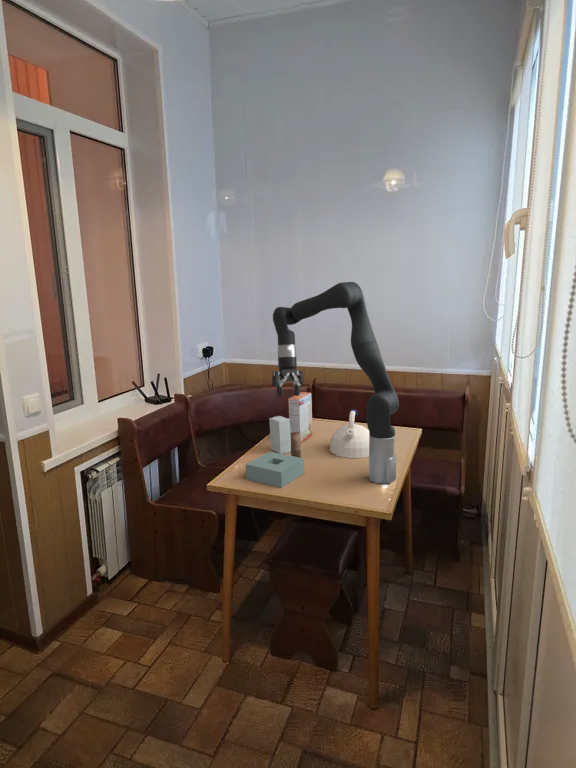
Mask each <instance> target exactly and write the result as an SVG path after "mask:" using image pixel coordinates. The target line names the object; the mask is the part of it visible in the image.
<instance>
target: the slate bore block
mask: <svg viewBox="0 0 576 768" xmlns="http://www.w3.org/2000/svg"><path fill="white" fill-rule="evenodd" d="M245 474H246V475H245V476H246V478H245V480H248V481H253V482H256V483H259V484H264V485H269V486H271V487H277V488H279V489H282V488H284V487H285V486H287V485H288V484H290V483H291V482H293V481H294V480H297V478H299V477H301V476H302V475H305V458H303V457H301V458H299V457H294V456H291V455H288V454H285V453H284V454H279V453H277V452H275V451H269V452H266V453H265V454H263V455H260V456H258V457H257V458H255V459H253V460H251V461H250V462H247V463H246V464H245Z"/></svg>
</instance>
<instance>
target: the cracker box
mask: <svg viewBox="0 0 576 768" xmlns="http://www.w3.org/2000/svg"><path fill="white" fill-rule="evenodd" d="M312 403H313V401H312V392H305V391H300V394H299V396H295V395H293V396H291V397H289V398H288V419H289V421H290V436H291V432H300V433H301V443H303V442H305V441H306V440H307V439H308V438H309V437H311V436H312V435H313V411H312V410H313V407H312V405H313V404H312Z"/></svg>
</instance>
